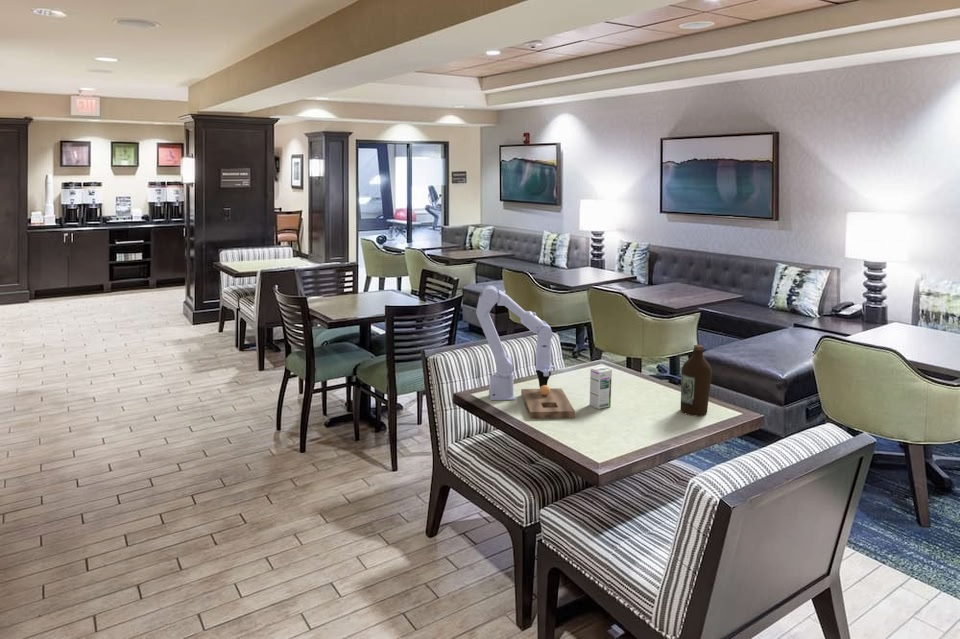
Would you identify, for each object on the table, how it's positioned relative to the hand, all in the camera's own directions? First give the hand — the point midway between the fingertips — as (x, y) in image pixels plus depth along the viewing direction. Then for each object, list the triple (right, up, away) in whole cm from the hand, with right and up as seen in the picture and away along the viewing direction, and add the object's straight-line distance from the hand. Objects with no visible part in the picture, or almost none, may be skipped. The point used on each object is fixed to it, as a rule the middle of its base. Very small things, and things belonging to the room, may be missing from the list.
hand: (542, 388), depth 262 cm
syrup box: (+21, -6, -9) cm, 23 cm away
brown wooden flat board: (+1, -6, -9) cm, 11 cm away
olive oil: (+54, -7, -14) cm, 56 cm away
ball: (0, 0, -5) cm, 5 cm away
